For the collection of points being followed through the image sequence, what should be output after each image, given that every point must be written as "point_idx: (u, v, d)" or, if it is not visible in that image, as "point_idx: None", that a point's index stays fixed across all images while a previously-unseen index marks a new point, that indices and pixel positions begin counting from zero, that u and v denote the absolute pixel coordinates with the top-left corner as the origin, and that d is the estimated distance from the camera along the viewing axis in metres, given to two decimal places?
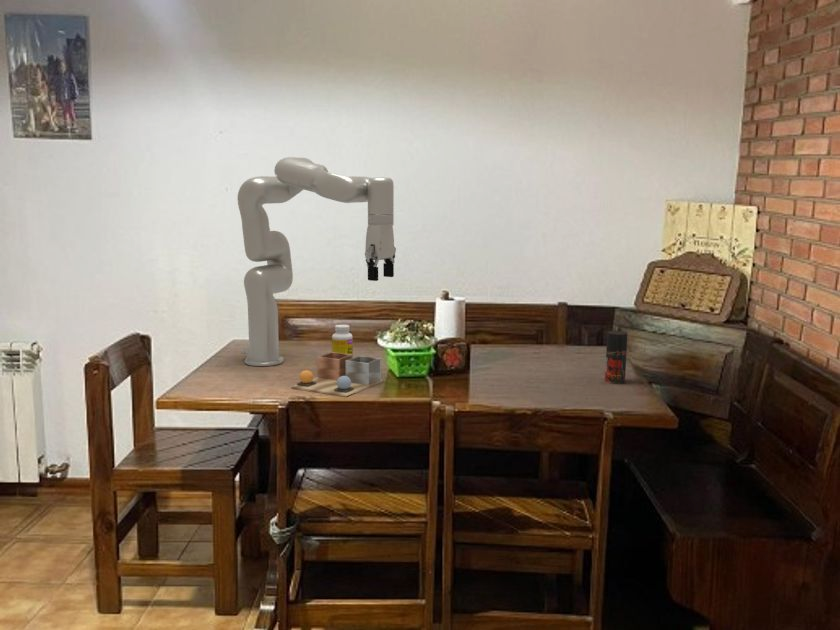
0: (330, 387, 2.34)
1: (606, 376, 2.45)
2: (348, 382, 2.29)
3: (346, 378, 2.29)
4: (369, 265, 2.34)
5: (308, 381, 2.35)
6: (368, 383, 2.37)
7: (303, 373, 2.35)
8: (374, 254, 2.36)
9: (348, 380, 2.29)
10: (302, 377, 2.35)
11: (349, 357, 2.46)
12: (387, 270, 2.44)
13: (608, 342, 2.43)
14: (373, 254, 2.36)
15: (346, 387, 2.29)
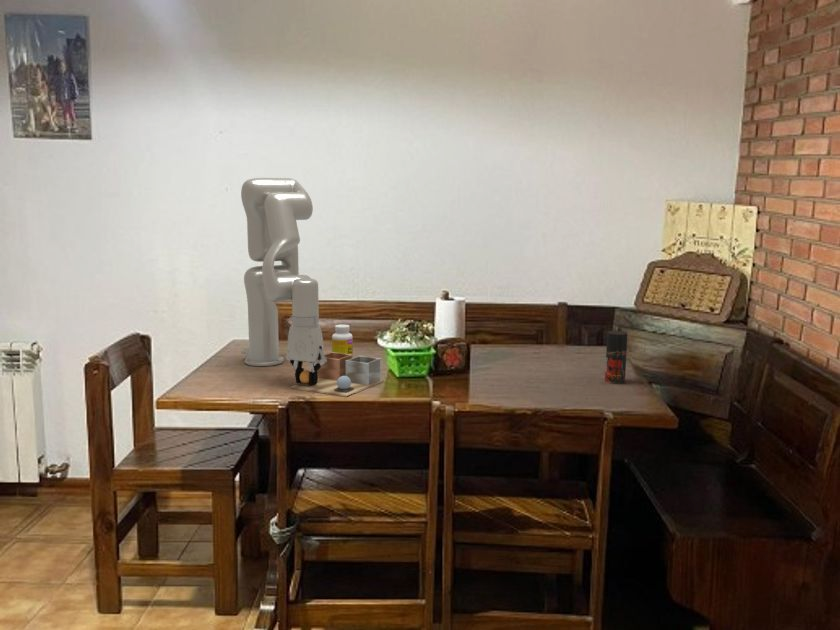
0: (330, 387, 2.34)
1: (606, 376, 2.45)
2: (348, 382, 2.29)
3: (346, 378, 2.29)
4: (316, 370, 2.34)
5: (308, 381, 2.35)
6: (368, 383, 2.37)
7: (303, 373, 2.35)
8: None
9: (348, 380, 2.29)
10: (302, 377, 2.35)
11: (349, 357, 2.46)
12: None
13: (608, 342, 2.43)
14: None
15: (346, 387, 2.29)
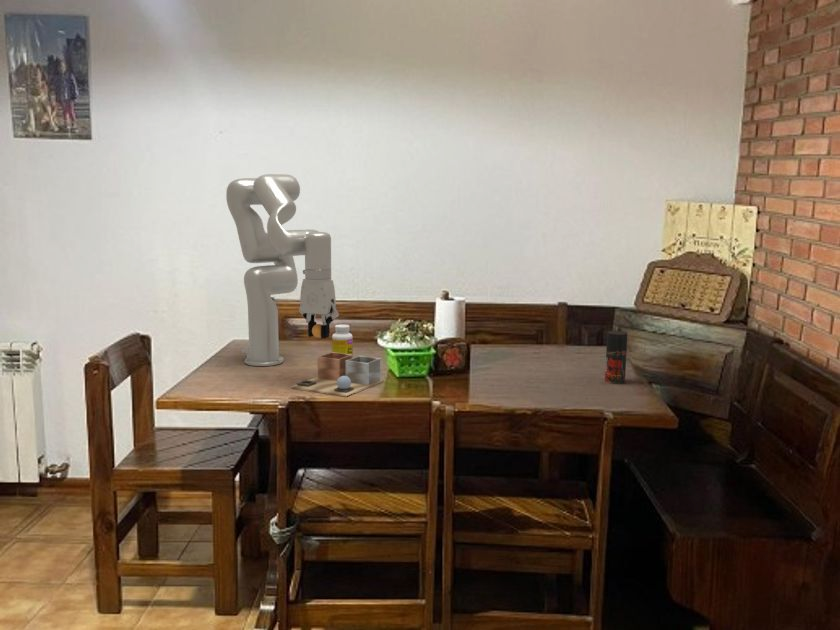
0: (330, 387, 2.34)
1: (606, 376, 2.45)
2: (348, 382, 2.29)
3: (346, 378, 2.29)
4: (328, 323, 2.36)
5: (320, 334, 2.37)
6: (368, 383, 2.37)
7: (315, 326, 2.37)
8: None
9: (348, 380, 2.29)
10: (314, 330, 2.37)
11: (349, 357, 2.46)
12: None
13: (608, 342, 2.43)
14: None
15: (346, 387, 2.29)
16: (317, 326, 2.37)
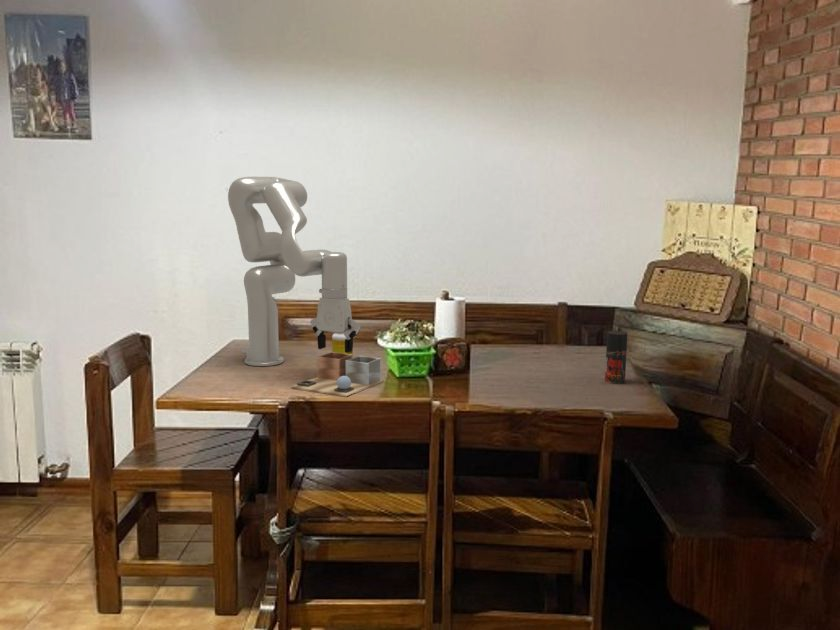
0: (330, 387, 2.34)
1: (606, 376, 2.45)
2: (348, 382, 2.29)
3: (346, 378, 2.29)
4: (352, 337, 2.41)
5: None
6: (368, 383, 2.37)
7: None
8: None
9: (348, 380, 2.29)
10: None
11: (349, 357, 2.46)
12: (322, 342, 2.47)
13: (608, 342, 2.43)
14: None
15: (346, 387, 2.29)
16: None
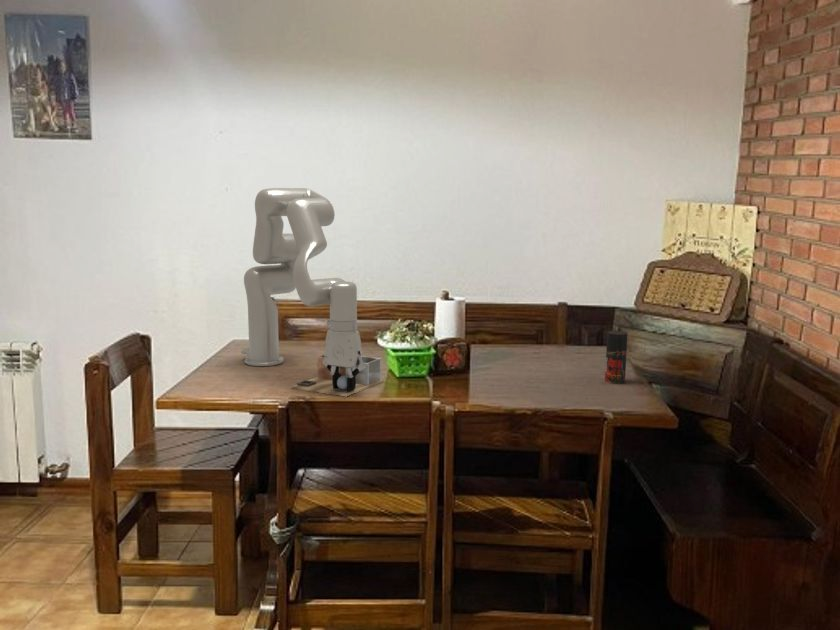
0: (330, 387, 2.34)
1: (606, 376, 2.45)
2: None
3: (346, 378, 2.29)
4: (354, 375, 2.28)
5: None
6: (368, 383, 2.37)
7: None
8: None
9: None
10: None
11: None
12: None
13: (608, 342, 2.43)
14: None
15: (346, 387, 2.29)
16: None
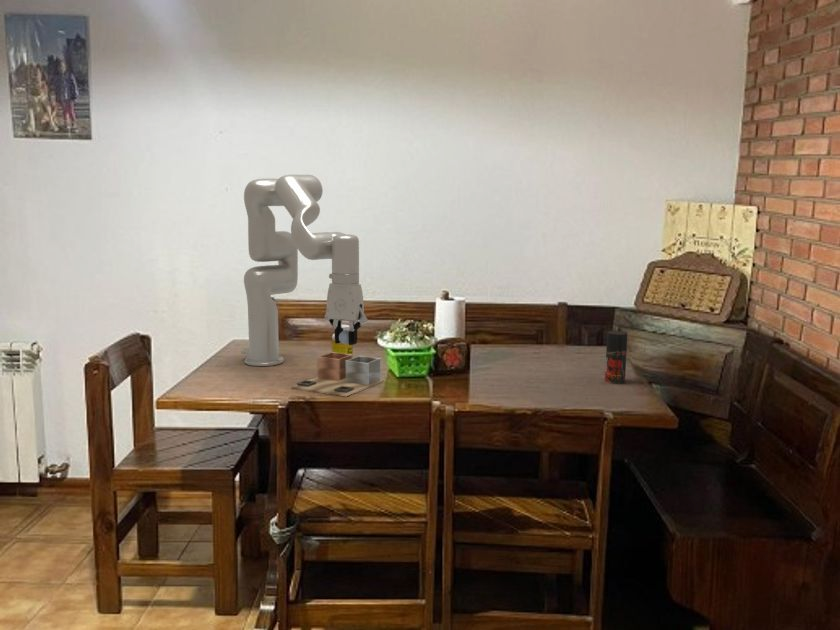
0: (330, 387, 2.34)
1: (606, 376, 2.45)
2: None
3: (348, 332, 2.29)
4: (356, 329, 2.27)
5: None
6: (368, 383, 2.37)
7: None
8: None
9: None
10: None
11: (349, 357, 2.46)
12: None
13: (608, 342, 2.43)
14: None
15: (348, 341, 2.28)
16: None
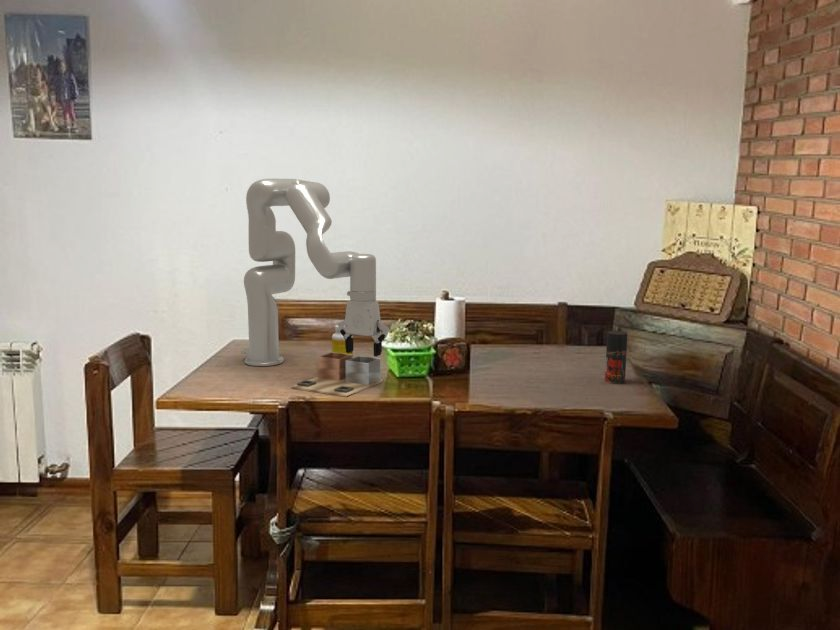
0: (330, 387, 2.34)
1: (606, 376, 2.45)
2: None
3: None
4: (381, 341, 2.36)
5: None
6: (368, 383, 2.37)
7: None
8: None
9: None
10: None
11: (349, 357, 2.46)
12: (350, 345, 2.42)
13: (608, 342, 2.43)
14: None
15: None
16: None
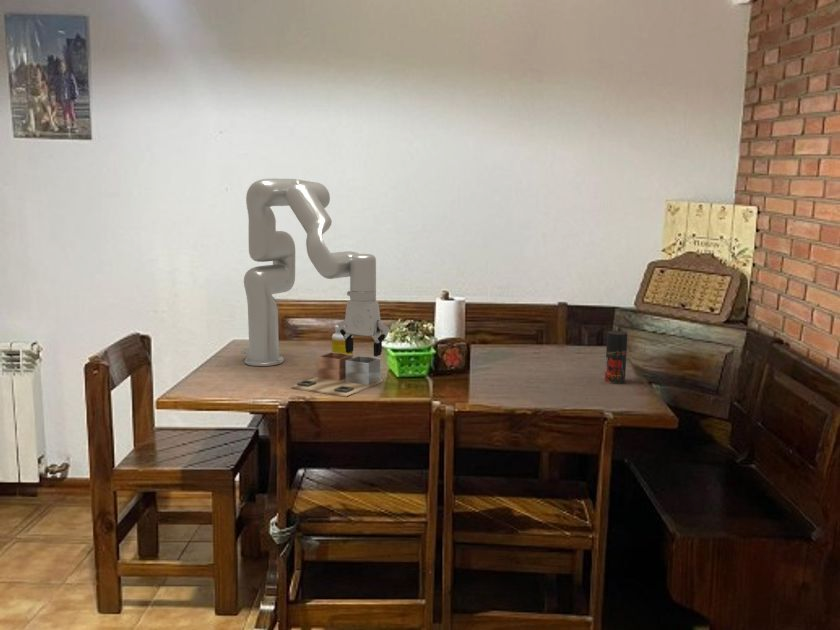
0: (330, 387, 2.34)
1: (606, 376, 2.45)
2: None
3: None
4: (381, 341, 2.36)
5: None
6: (368, 383, 2.37)
7: None
8: None
9: None
10: None
11: (349, 357, 2.46)
12: (350, 345, 2.42)
13: (608, 342, 2.43)
14: None
15: None
16: None
